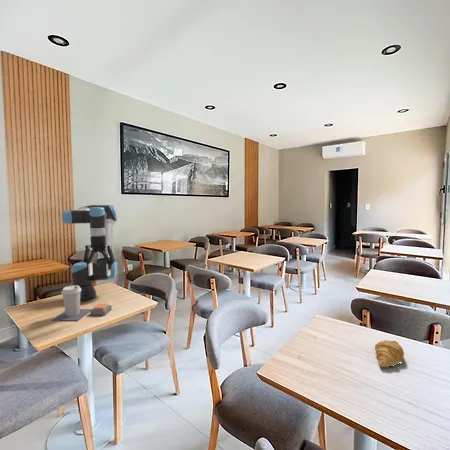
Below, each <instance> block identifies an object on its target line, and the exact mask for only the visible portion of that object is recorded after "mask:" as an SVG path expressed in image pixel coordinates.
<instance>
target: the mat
mask: <svg viewBox="0 0 450 450" xmlns="http://www.w3.org/2000/svg"><path fill="white" fill-rule="evenodd" d="M92 309H93V308H80V312H79V314H78V315H76V316H72V317H67V316H66V313H65V310H64V311H63V312H61V313H60V314H58V315H56V316H55V317H54V318H52V319H51V321H53V322H79V321H80V320H81V319H83V317H85V316H86V315H88V314H89V313H91V312H90V311H91V310H92Z"/></svg>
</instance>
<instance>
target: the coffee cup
mask: <svg viewBox="0 0 450 450" xmlns="http://www.w3.org/2000/svg"><path fill="white" fill-rule="evenodd" d="M80 292H81V288H80V286H77V285H74V286H73V285H69V286H65V287H63V288H62V290H61V292H60V293H61V295H62V299H63V300H62V301H63V305H64V311H65V313H66V316H67V317H72V316H76V315H78V314H79V312H80V309H81V308H80V307H81V301H80Z"/></svg>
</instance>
